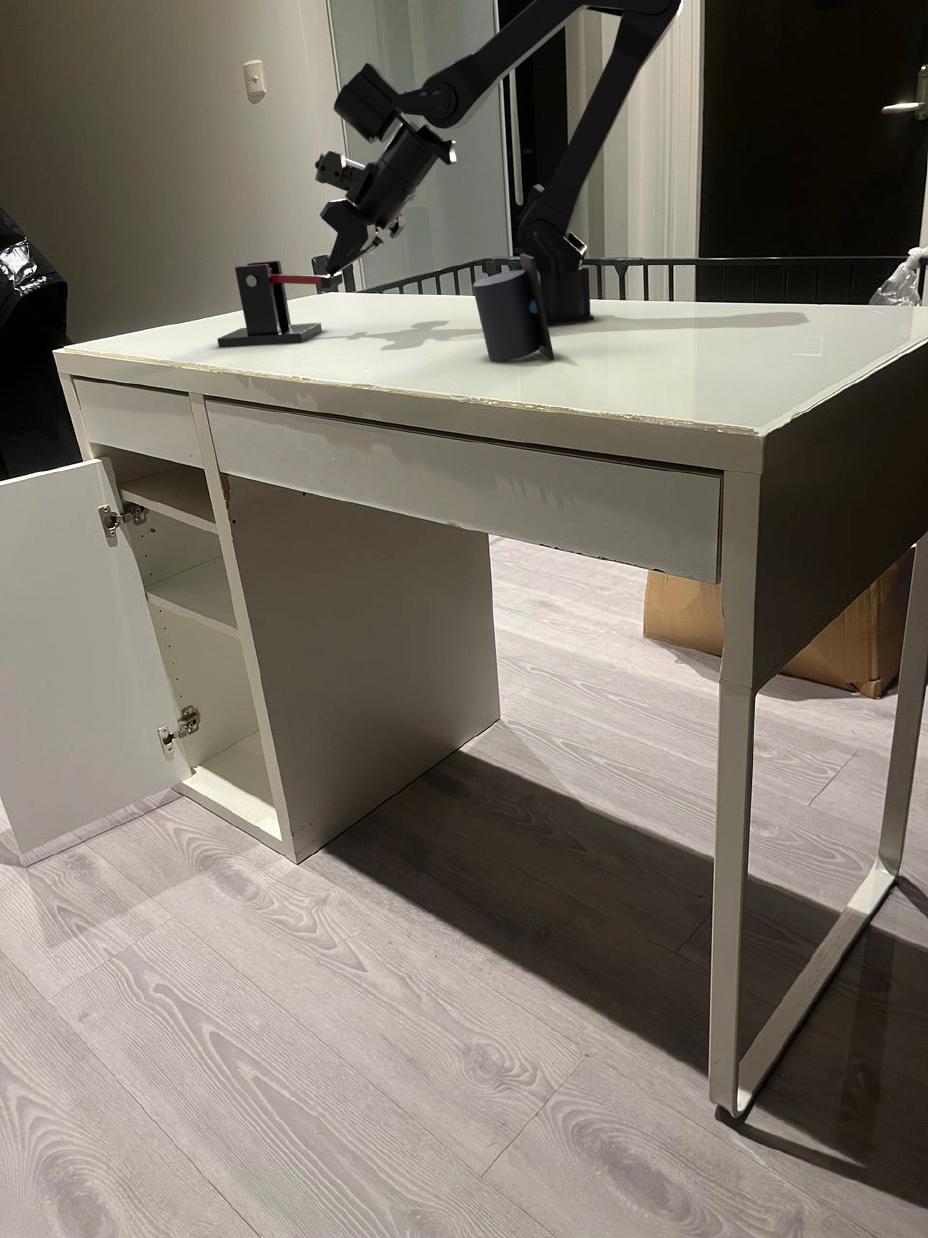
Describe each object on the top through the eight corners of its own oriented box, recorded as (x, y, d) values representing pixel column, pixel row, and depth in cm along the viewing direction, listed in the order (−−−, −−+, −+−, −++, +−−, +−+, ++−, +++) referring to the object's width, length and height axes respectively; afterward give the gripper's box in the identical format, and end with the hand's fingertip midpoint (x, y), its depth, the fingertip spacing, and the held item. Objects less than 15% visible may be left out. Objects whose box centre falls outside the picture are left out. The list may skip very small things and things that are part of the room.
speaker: (560, 346, 101) (544, 247, 97) (554, 360, 97) (538, 256, 92) (493, 357, 103) (475, 260, 99) (484, 371, 99) (464, 270, 94)
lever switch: (322, 331, 129) (310, 256, 124) (302, 342, 122) (289, 263, 117) (242, 336, 131) (228, 263, 127) (218, 347, 124) (202, 270, 120)
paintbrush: (343, 287, 124) (342, 268, 123) (331, 292, 120) (330, 273, 118) (258, 284, 126) (256, 265, 125) (243, 289, 122) (241, 270, 121)
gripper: (370, 124, 120) (305, 223, 128) (323, 122, 104) (252, 236, 111) (435, 185, 122) (367, 279, 130) (399, 192, 106) (324, 299, 113)
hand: (329, 272), depth 121 cm, fingers closed, pressing on paintbrush
